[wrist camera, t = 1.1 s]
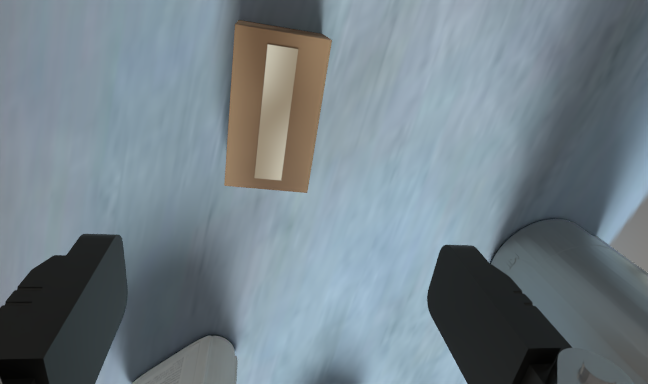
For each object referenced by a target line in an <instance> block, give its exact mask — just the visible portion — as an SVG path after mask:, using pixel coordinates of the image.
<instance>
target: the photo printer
mask: <svg viewBox="0 0 648 384" xmlns="http://www.w3.org/2000/svg"><path fill="white" fill-rule="evenodd" d="M236 380H237V356H235V350H234V347H233V345H232V344H231V343H230V342H229V341H228V340H226V339H225V338H223V337H220V336H210V335H209V336H206V337H204V338H201V339H199V340H197V341H196V342H194V343H192V344H191V345H189V346H187V347H186V348H184V349H182V350H181V351H179V352H177V353H176V354H174V355H173V356H171V357H169V358H168V359H166V360H165V361H163V362H162V363H160V364H159V365H157V366H155V367H154V368H152V369H151V370H149V371H148V372H146V373H145V374H143V375H142V376H141V377H139V378H138V379H136V380H135V381H134V382H133V383H132V384H236Z"/></svg>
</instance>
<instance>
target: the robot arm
mask: <svg viewBox="0 0 648 384" xmlns="http://www.w3.org/2000/svg"><path fill="white" fill-rule="evenodd" d="M127 293H128V292H127V279H126V269H125V259H124V249H123V241H122V238H121V236H120V235H107V234H83V235H81V236H80V237H79V239H78V240H77V241H76V243H75V244H74V246H73V247H72V248H71V250H70V251H69V252H68V254H67V255H66V256H61V255H54V256H52V257H51V258H49V259H48V260H46V261H45V262H43V263H41V264H40V265H38V266H37V267H35V268H34V269H32V270H31V271H30V272H29V274H28V275H27V276H26V277H25V279H24V280H23V281H22V282H21V283H20V285H19V286H18V289H17V290H15V291H14V292H13V293H12V294H11V296H10V297H9V298H8V299H7V301H6V304H5V306H2V307H1V308H0V384H95V382H96V380H97V377H98V375H99V373H100V370H101V368H102V366H103V363H104V361H105V358H106V356H107V354H108V351H109V349H110V346H111V344H112V342H113V339H114V337H115V335H116V332H117V330H118V327H119V325H120V323H121V320H122V318H123V315H124V312H125V308H126V303H127ZM427 301H428V308H429V312H430V314H431V316H432V318H433V320H434V322H435V324H436V326H437V328H438V329H439V331H440V333H441V335H442V337H443V339H444V341H445V343H446V344H447V346H448V348H449V350H450V352H451V354H452V356H453V357H454V359H455V361H456V363H457V365H458V367H459V369H460V371H461V372H462V374H463V376H464V378H465V380H466V382H467V384H648V273H647V272H646V271H644V270H643V269H642V268H640V267H639V266H637V265H636V264H634V263H633V262H632V261H630V260H629V259H628V258H626V257H625V256H623V255H622V254H621V253H619V252H618V251H616V250H615V249H614V248H612V247H611V246H610V245H608V244H607V243H606V242H604V241H603V240H601V239H600V238H599V237H597V236H592V235H591V234H590V233H588V232H587V231H586V230H584V229H583V228H581V227H580V226H578V225H577V224H575V223H574V222H571V221H568V220H565V219H549V220H542V221H539V222H536V223H533V224H531V225H529V226H527V227H525V228H523V229H521V230H519V231H518V232H517V233H515V234H514V235H512V236H511V237H510V238H509V239H508V240H507V241H506V242H505V243H504V244H503V245H502V246H501V248H500V249H499V250H498V252H497V253H496V255H495V257H494V259H493V261H492V263H491V265H490V264H489V262H488V261H487V260H486V259H485V258H484V257H483V255H482V254H481V253H480V252H479V251H478V250H477V248H476V247H474V246H468V245H444V246H443V247H442V248H441V250H440V253H439V256H438V259H437V263H436V266H435V269H434V273H433V276H432V279H431V283H430V286H429V290H428V296H427Z"/></svg>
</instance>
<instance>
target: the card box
mask: <svg viewBox="0 0 648 384" xmlns="http://www.w3.org/2000/svg"><path fill="white" fill-rule="evenodd" d="M331 42H332V40H331V39H329V38H328V37H326V36H325V35H323V34H320V33H314V32H308V31H302V30H296V29H290V28H284V27H278V26H272V25H266V24H260V23H254V22H248V21H242V20H238V21H237V23H236V24H235V34H234V49H233V64H232V79H231V95H230V110H229V125H228V140H227V155H226V170H225V186H235V187H246V188H258V189H269V190H281V191H292V192H304V193H307V190H308V184H309V178H310V172H311V166H312V160H313V153H314V147H315V141H316V135H317V129H318V123H319V116H320V110H321V104H322V98H323V92H324V86H325V79H326V73H327V67H328V61H329V55H330V48H331Z"/></svg>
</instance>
